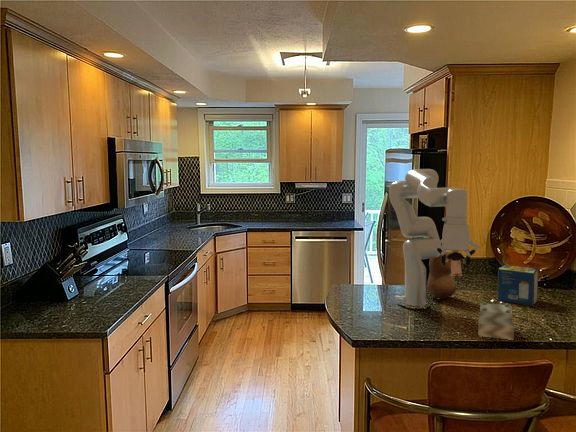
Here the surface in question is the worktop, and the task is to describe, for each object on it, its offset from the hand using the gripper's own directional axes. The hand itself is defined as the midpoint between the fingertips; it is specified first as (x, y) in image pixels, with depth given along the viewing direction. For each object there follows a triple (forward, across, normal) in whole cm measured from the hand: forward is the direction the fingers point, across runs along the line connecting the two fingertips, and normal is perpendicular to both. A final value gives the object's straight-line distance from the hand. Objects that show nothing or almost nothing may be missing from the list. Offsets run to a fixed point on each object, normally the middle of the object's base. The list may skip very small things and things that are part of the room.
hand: (455, 265), depth 178 cm
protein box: (+26, +25, +50) cm, 62 cm away
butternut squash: (+26, -9, +43) cm, 51 cm away
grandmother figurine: (+4, 0, 0) cm, 4 cm away
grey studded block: (+26, +15, 0) cm, 30 cm away
